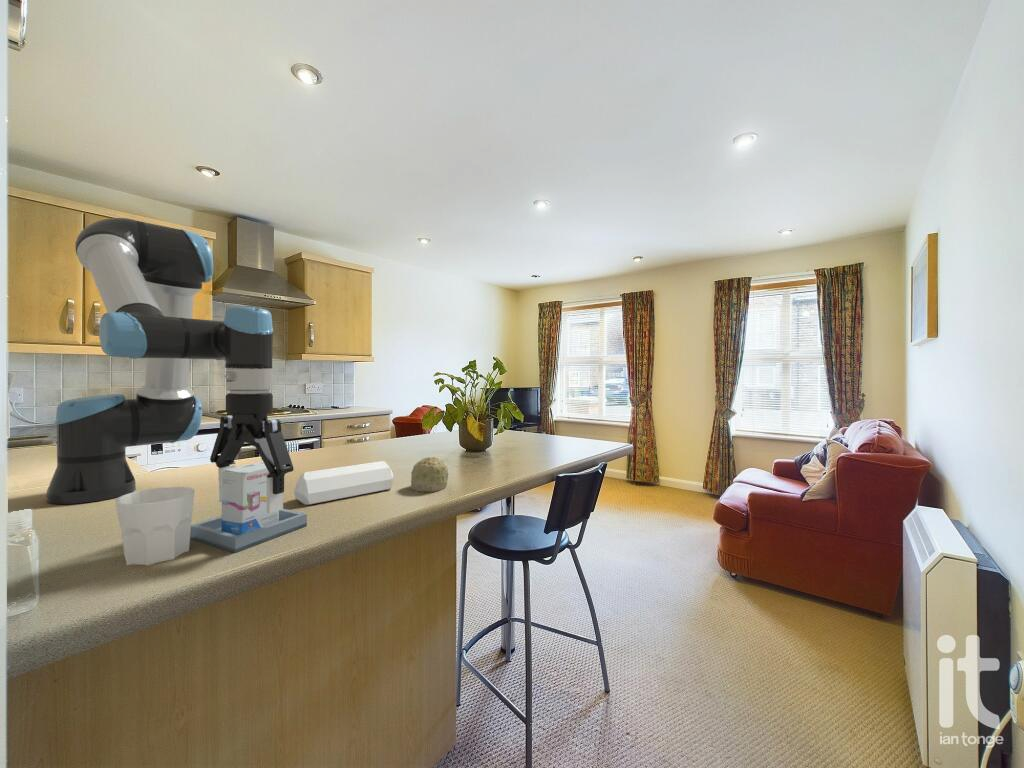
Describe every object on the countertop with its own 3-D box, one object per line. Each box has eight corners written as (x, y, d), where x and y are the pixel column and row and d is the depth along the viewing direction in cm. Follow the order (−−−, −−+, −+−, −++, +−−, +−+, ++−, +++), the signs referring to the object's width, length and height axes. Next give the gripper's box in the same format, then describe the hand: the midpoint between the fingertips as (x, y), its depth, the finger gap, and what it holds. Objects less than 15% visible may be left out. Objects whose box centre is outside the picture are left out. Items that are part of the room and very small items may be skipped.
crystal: (302, 493, 95) (402, 475, 111) (293, 471, 99) (390, 457, 116) (296, 518, 98) (395, 497, 114) (288, 496, 102) (384, 479, 118)
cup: (98, 568, 67) (97, 504, 67) (151, 541, 77) (150, 486, 77) (163, 569, 67) (162, 505, 67) (208, 542, 77) (208, 487, 77)
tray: (189, 538, 79) (189, 525, 79) (262, 515, 91) (262, 504, 91) (235, 552, 73) (235, 538, 73) (306, 525, 86) (306, 513, 86)
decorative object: (432, 507, 110) (455, 473, 110) (399, 484, 109) (422, 451, 110) (437, 499, 119) (458, 468, 120) (406, 478, 119) (427, 447, 119)
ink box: (242, 539, 77) (241, 472, 77) (220, 535, 79) (219, 470, 78) (280, 522, 86) (280, 462, 85) (260, 519, 87) (259, 460, 87)
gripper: (187, 390, 83) (189, 501, 84) (276, 395, 73) (277, 522, 73) (227, 388, 90) (228, 491, 91) (314, 393, 79) (314, 509, 80)
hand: (250, 505), depth 82 cm, fingers open, 13 cm apart
